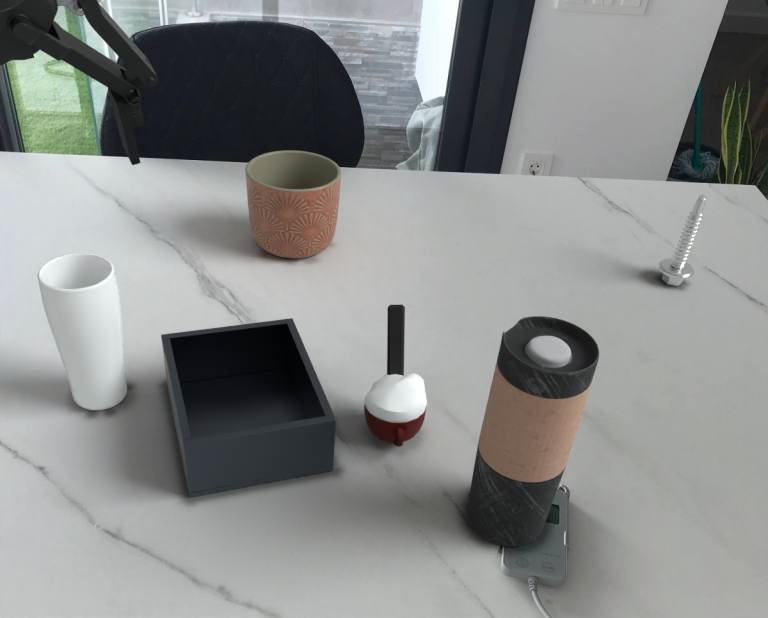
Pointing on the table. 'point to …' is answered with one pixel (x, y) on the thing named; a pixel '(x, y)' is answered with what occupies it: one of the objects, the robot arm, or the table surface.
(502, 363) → the travel mug
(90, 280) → the white cup
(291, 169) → the planter
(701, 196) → the screw
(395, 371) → the cocoa
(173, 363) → the dark storage bin
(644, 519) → the table surface
